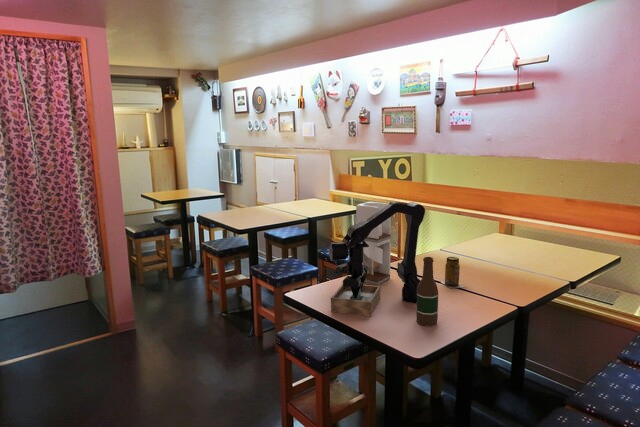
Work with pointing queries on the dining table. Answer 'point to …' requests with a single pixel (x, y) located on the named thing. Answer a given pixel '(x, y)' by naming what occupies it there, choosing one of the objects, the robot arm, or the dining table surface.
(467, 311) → the dining table surface
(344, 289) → the box
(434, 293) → the beer bottle
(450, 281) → the condiment
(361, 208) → the display case
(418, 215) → the robot arm
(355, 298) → the peg
